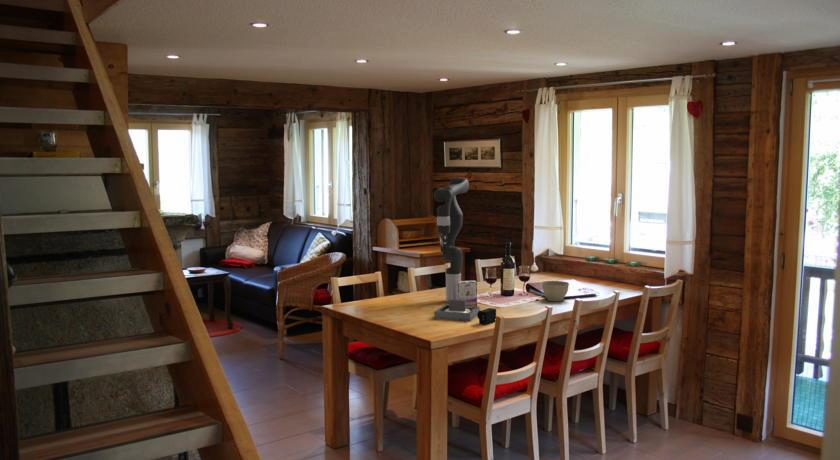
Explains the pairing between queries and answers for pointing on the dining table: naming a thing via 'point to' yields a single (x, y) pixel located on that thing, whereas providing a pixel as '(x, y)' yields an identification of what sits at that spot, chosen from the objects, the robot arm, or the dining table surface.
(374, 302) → the dining table surface
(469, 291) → the candy bar box
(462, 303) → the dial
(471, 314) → the dial housing
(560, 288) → the planter bowl
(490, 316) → the digital camera
